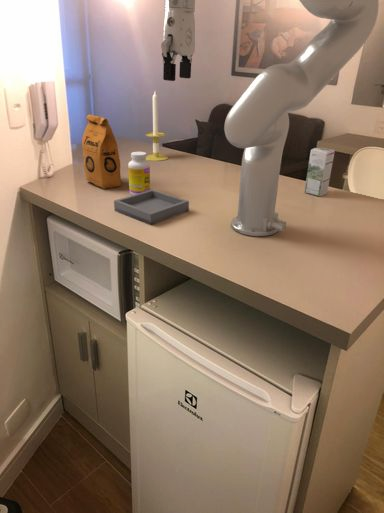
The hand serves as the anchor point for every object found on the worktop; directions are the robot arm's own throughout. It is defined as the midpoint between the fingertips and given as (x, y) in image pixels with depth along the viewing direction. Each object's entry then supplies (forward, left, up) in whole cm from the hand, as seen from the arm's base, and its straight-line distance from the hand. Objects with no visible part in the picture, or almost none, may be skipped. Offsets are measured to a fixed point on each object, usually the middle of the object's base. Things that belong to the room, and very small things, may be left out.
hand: (177, 79), depth 111 cm
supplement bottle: (+14, +2, -35) cm, 38 cm away
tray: (0, +10, -35) cm, 36 cm away
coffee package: (+30, +4, -35) cm, 46 cm away
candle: (+44, -34, -35) cm, 65 cm away
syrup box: (-26, -40, -35) cm, 59 cm away
